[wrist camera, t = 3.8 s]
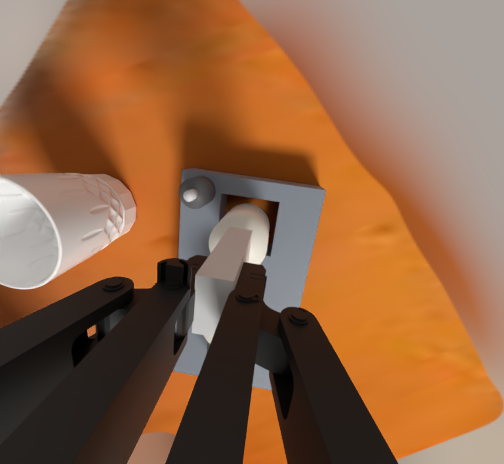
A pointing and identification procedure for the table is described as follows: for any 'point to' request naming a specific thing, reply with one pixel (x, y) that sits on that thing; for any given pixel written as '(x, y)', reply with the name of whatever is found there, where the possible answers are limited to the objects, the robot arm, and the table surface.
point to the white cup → (57, 223)
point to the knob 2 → (245, 219)
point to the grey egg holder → (278, 254)
